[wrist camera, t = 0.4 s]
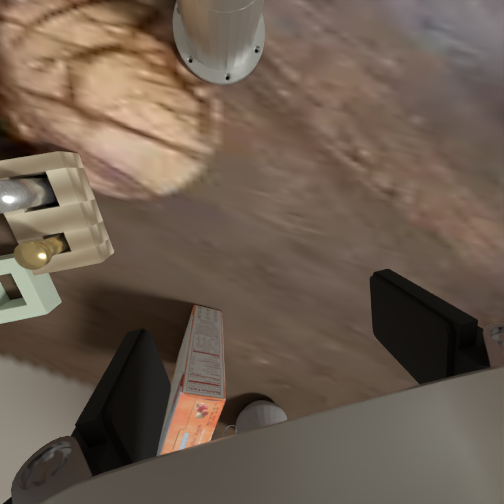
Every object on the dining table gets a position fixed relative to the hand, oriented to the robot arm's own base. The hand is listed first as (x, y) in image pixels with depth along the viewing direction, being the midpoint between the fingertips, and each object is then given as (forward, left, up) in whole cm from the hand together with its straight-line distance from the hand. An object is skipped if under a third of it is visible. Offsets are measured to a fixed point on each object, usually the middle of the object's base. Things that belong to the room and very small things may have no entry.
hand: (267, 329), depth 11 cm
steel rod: (-8, -26, -35) cm, 44 cm away
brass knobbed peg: (0, -26, -32) cm, 41 cm away
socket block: (-4, -26, -35) cm, 44 cm away
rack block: (+6, -37, -35) cm, 52 cm away
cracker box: (+24, -11, -36) cm, 44 cm away
